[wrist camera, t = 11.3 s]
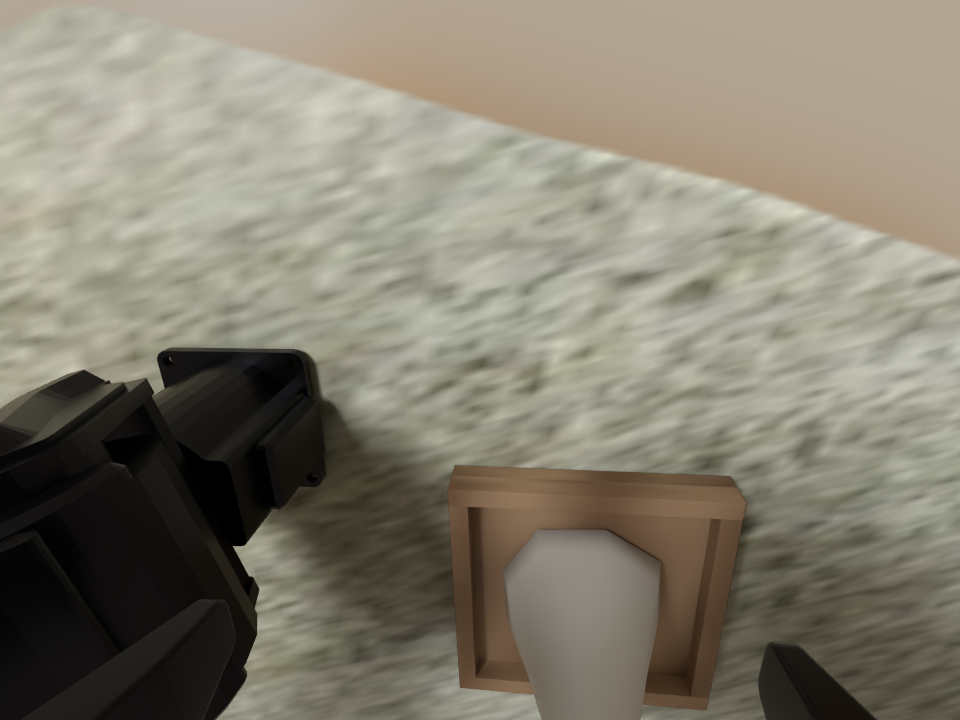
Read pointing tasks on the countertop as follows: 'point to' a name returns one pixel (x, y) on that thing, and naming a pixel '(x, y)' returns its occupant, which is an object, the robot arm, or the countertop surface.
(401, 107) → the countertop surface
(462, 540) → the walnut tray
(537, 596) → the flask
